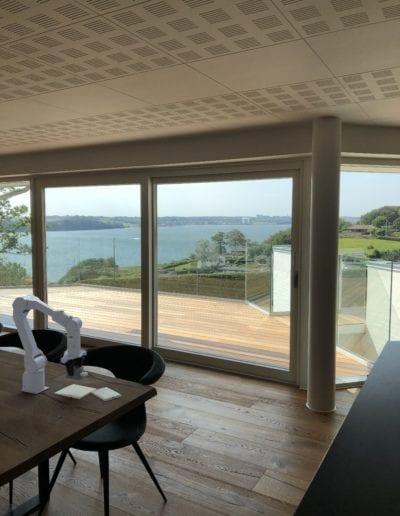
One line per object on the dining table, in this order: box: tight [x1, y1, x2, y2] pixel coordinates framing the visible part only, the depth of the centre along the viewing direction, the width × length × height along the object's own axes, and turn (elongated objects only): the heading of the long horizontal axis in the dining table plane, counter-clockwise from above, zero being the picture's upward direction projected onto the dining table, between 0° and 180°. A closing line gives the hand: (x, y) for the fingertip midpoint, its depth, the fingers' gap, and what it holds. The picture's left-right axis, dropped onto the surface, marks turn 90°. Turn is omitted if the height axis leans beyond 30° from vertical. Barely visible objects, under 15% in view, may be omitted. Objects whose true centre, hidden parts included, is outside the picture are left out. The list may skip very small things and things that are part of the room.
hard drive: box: [90, 386, 122, 402], centre depth 192 cm, size 2×8×12 cm
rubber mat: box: [54, 383, 98, 400], centre depth 195 cm, size 14×12×1 cm
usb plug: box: [65, 365, 89, 381], centre depth 193 cm, size 11×4×5 cm, turn 64°
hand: (74, 374), depth 194 cm, fingers closed on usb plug, 4 cm apart
